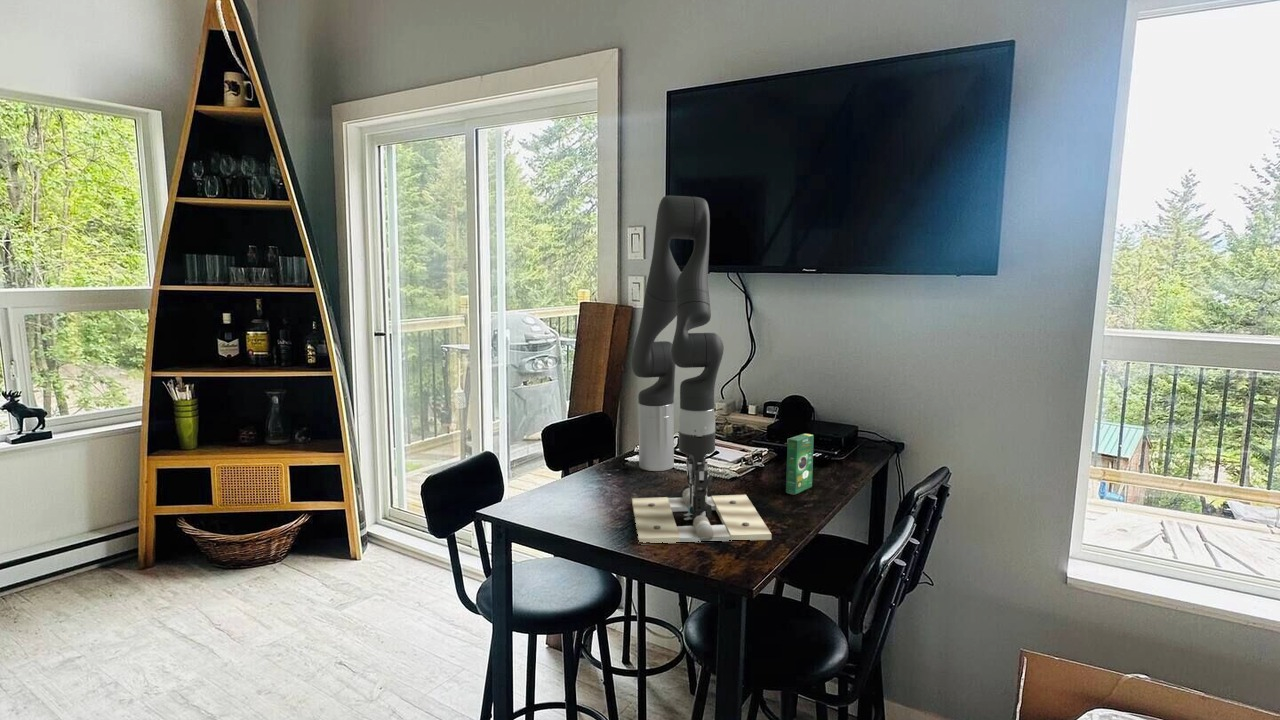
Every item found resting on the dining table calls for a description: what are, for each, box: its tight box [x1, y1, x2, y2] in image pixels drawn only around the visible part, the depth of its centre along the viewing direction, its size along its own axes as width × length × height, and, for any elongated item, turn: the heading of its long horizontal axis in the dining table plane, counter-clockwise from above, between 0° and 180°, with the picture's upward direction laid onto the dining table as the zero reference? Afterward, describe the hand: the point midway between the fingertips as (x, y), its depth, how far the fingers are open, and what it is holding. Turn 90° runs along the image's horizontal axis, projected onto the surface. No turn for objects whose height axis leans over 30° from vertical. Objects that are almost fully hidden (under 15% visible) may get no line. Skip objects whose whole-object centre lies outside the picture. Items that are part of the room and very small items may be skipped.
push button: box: [683, 473, 713, 522], centre depth 148 cm, size 7×5×10 cm
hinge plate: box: [631, 487, 772, 544], centre depth 148 cm, size 23×26×3 cm
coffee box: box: [785, 432, 815, 496], centre depth 166 cm, size 8×3×13 cm, turn 137°
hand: (696, 508), depth 148 cm, fingers closed on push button, 4 cm apart
